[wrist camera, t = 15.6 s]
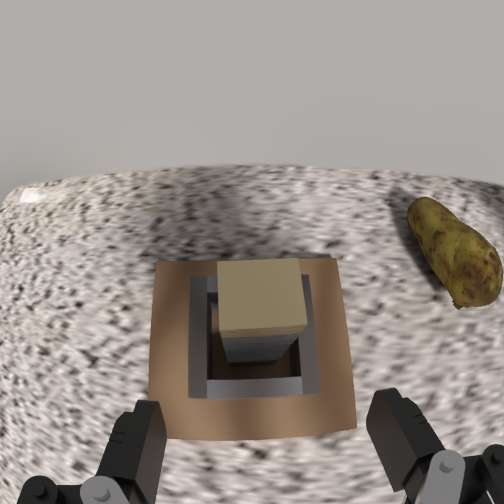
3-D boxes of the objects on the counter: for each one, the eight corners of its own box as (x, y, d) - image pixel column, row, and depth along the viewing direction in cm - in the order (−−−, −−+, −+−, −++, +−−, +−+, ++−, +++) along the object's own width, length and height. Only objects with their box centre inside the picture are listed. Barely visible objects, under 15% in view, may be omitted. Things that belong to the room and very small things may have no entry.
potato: (451, 221, 31) (485, 180, 24) (471, 323, 25) (522, 294, 18) (395, 211, 31) (426, 162, 24) (410, 323, 25) (460, 291, 18)
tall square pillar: (271, 327, 24) (298, 257, 13) (274, 364, 22) (307, 324, 12) (227, 330, 24) (217, 261, 13) (229, 367, 22) (219, 330, 12)
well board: (333, 263, 28) (349, 234, 24) (352, 427, 21) (377, 430, 16) (159, 266, 27) (145, 237, 23) (152, 435, 20) (131, 441, 16)
